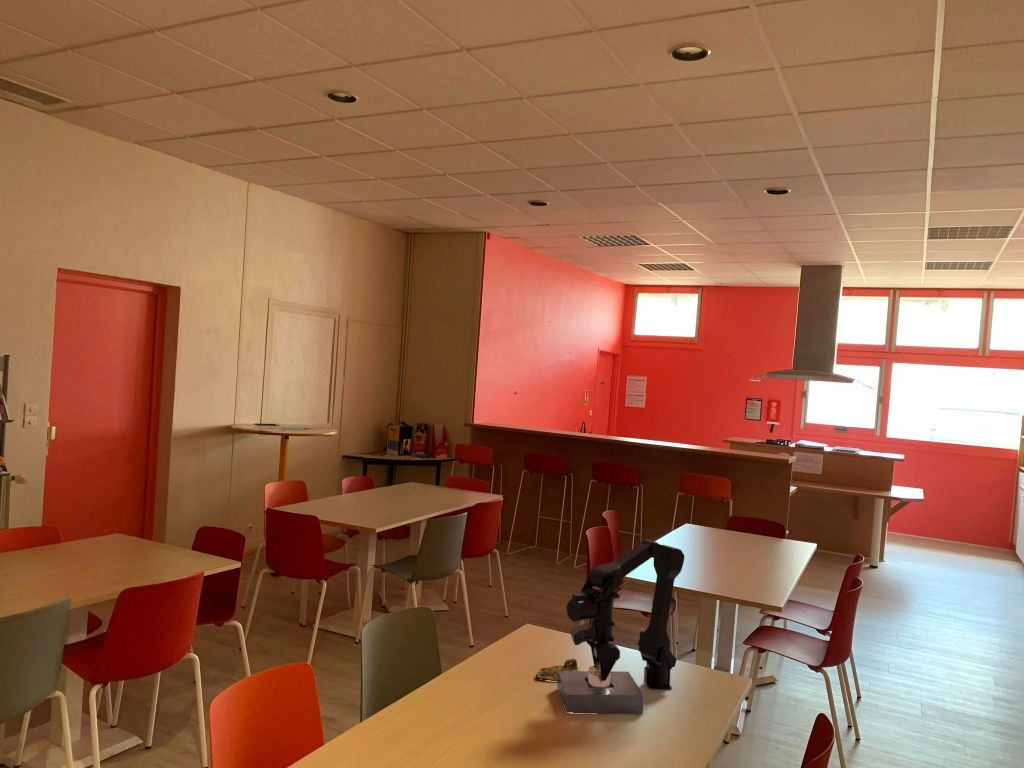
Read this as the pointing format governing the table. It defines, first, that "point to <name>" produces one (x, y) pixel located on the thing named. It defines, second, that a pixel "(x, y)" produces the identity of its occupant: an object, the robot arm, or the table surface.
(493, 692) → the table surface
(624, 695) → the housing
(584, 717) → the table surface
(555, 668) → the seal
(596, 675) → the end cover
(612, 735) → the table surface
